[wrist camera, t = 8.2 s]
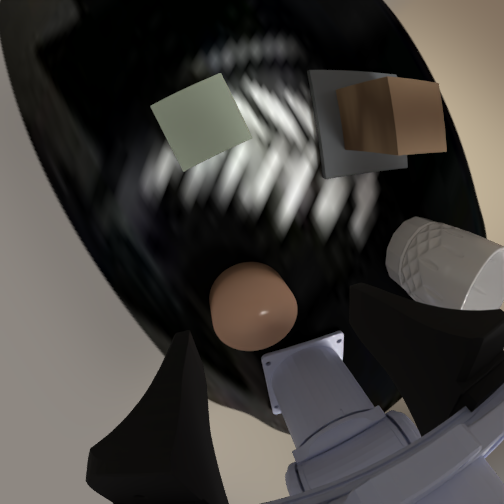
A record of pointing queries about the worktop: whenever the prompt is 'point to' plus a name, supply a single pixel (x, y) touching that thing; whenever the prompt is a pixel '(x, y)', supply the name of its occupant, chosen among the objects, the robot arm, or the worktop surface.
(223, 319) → the brown rounded disc
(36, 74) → the worktop surface
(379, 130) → the walnut block
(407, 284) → the white cup
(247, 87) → the worktop surface
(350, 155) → the plate
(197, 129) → the sage cube
